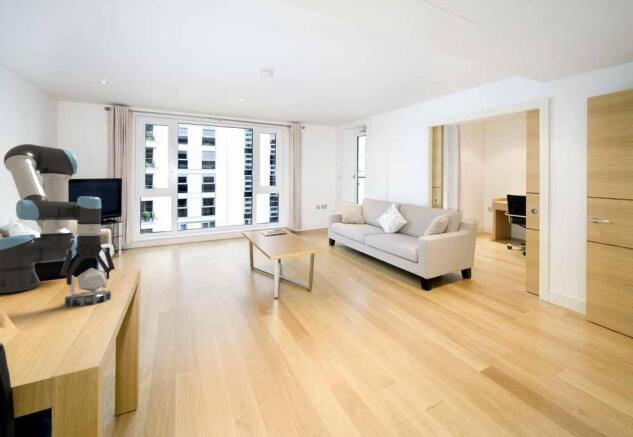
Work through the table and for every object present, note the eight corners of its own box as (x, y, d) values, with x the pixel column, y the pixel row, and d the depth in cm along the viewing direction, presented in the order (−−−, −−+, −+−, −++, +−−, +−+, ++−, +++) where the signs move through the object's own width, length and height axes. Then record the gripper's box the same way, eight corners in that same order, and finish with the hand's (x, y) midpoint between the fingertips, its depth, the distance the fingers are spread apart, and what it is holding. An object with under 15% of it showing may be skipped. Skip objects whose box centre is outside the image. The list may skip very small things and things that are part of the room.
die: (111, 287, 119) (109, 264, 119) (97, 295, 111) (95, 269, 110) (89, 289, 118) (87, 265, 118) (73, 296, 110) (71, 271, 109)
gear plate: (60, 302, 113) (60, 295, 113) (103, 294, 125) (103, 288, 125) (70, 308, 104) (70, 302, 104) (116, 299, 116) (116, 293, 116)
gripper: (54, 236, 103) (53, 297, 103) (124, 234, 121) (124, 286, 121) (49, 235, 108) (48, 294, 108) (117, 233, 126) (117, 283, 126)
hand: (88, 290), depth 114 cm, fingers open, 10 cm apart
